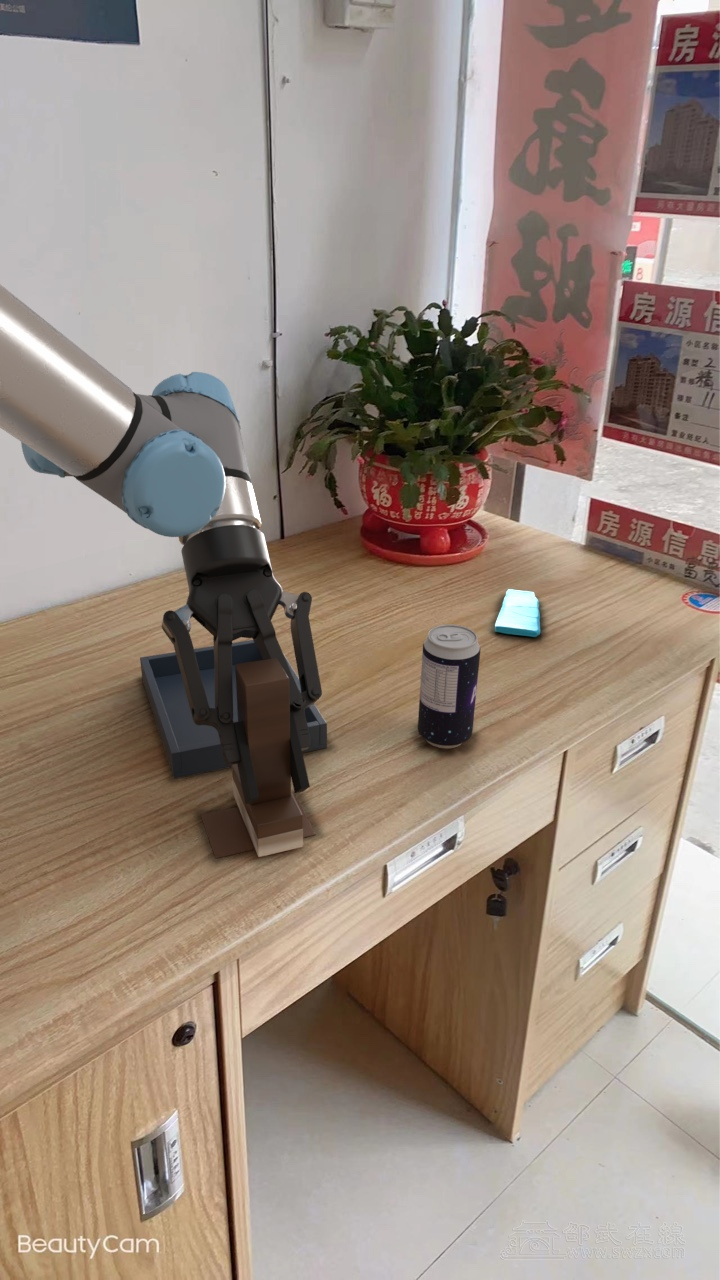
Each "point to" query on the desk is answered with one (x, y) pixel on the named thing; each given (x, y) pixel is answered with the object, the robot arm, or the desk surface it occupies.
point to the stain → (237, 831)
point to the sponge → (519, 614)
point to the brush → (267, 757)
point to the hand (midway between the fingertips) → (277, 794)
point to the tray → (201, 744)
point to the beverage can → (448, 685)
